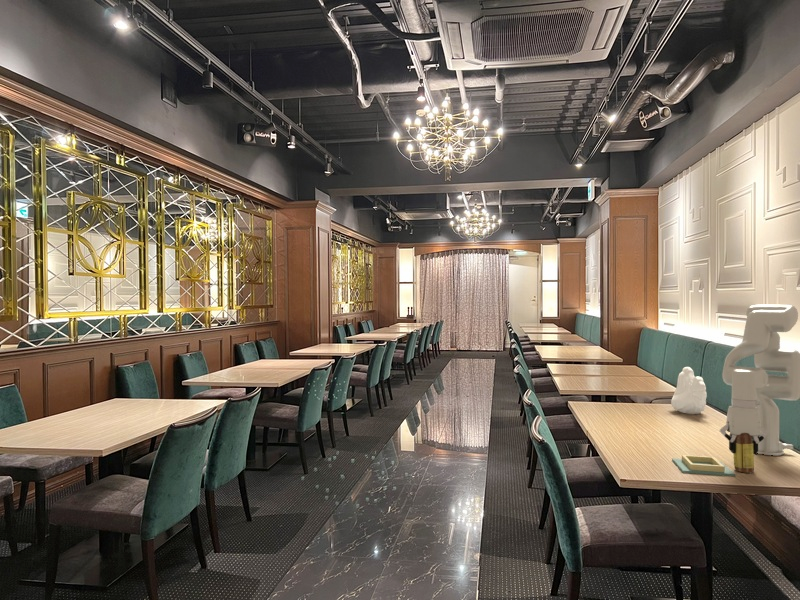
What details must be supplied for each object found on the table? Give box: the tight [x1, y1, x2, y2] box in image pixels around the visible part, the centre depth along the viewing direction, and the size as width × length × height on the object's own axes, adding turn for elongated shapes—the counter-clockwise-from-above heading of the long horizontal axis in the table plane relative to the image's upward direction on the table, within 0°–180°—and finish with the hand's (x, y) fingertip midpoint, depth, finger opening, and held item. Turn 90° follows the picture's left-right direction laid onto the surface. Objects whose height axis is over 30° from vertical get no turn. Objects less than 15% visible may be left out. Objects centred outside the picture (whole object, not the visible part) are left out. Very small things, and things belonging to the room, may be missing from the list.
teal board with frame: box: [671, 454, 737, 477], centre depth 201 cm, size 17×15×3 cm
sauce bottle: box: [733, 433, 755, 474], centre depth 198 cm, size 7×6×20 cm
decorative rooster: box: [670, 366, 708, 415], centre depth 294 cm, size 25×16×25 cm, turn 166°
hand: (743, 452), depth 198 cm, fingers closed on sauce bottle, 6 cm apart
